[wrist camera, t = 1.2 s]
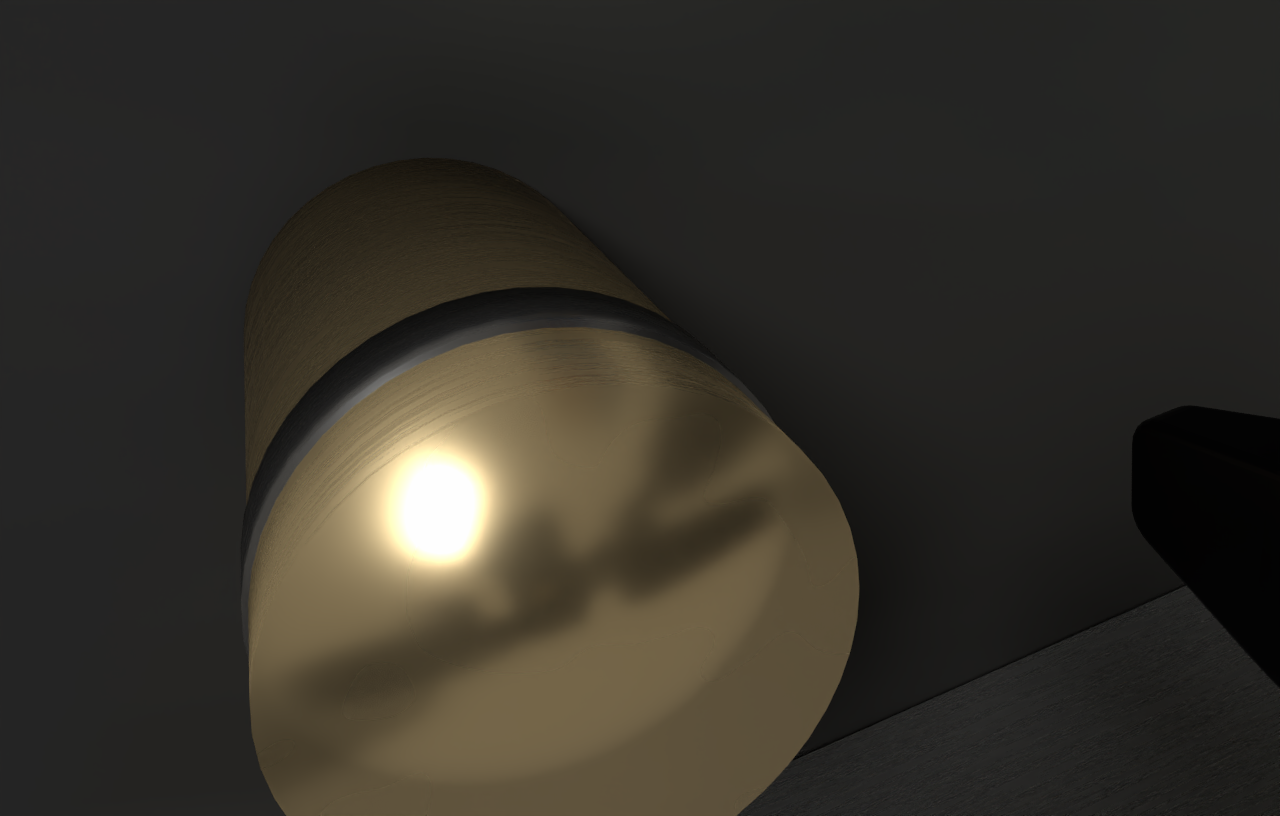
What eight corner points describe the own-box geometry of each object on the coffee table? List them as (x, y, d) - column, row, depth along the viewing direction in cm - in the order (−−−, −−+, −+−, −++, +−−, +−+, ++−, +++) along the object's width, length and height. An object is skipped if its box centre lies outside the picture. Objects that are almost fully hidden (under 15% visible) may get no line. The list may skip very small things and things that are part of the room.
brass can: (558, 105, 13) (823, 282, 7) (640, 426, 16) (892, 763, 10) (173, 223, 12) (114, 534, 6) (320, 544, 15) (378, 996, 9)
